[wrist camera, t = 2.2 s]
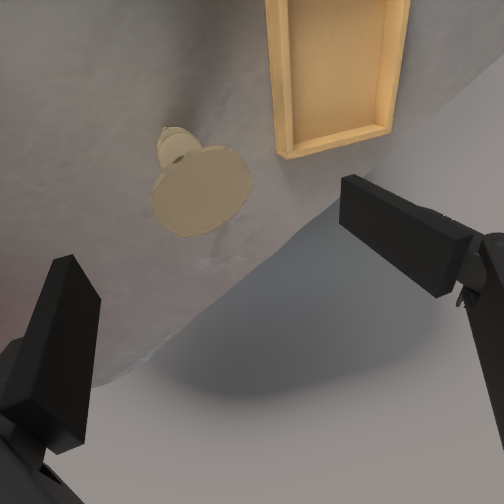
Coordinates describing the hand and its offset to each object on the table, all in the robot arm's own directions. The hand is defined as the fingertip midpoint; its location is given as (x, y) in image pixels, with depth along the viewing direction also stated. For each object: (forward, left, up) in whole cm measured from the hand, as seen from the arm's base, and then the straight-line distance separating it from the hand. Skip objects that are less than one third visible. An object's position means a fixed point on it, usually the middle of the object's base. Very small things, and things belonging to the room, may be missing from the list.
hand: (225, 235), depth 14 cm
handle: (0, 0, -20) cm, 20 cm away
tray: (-5, +18, -20) cm, 27 cm away
